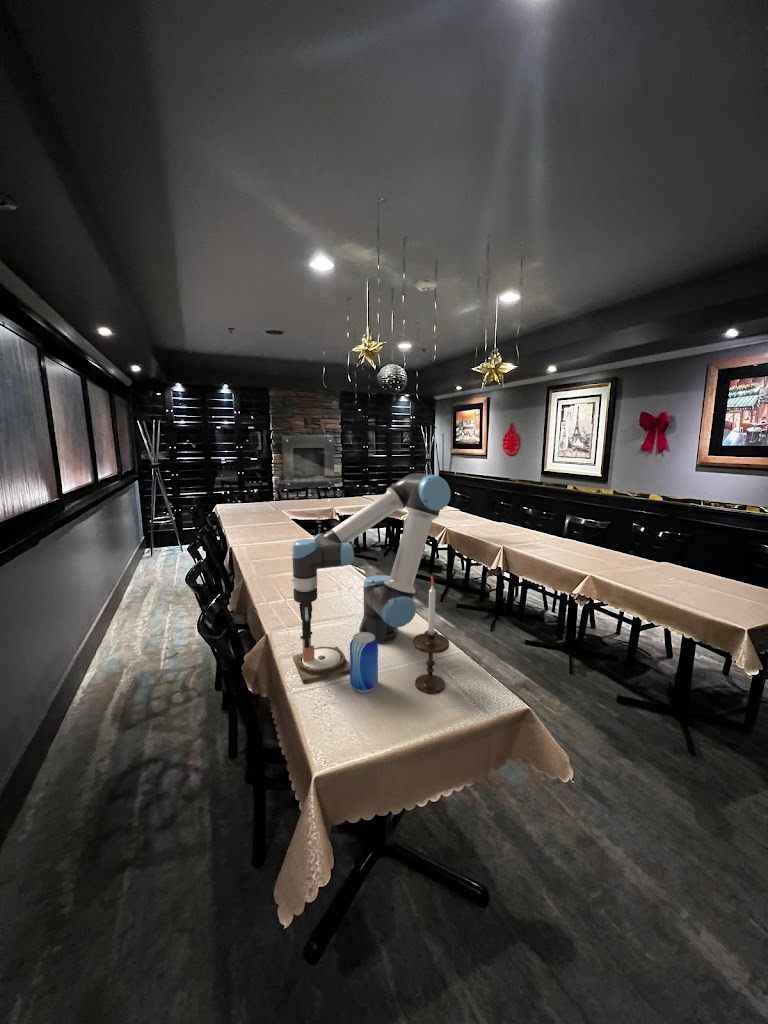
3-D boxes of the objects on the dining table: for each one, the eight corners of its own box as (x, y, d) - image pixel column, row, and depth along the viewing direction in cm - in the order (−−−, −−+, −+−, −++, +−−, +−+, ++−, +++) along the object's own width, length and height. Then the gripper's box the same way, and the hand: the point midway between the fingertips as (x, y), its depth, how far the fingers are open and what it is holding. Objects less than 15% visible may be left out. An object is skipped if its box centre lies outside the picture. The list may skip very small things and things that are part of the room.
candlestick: (411, 674, 129) (413, 569, 123) (445, 675, 129) (448, 570, 123) (413, 695, 118) (414, 581, 113) (450, 696, 118) (453, 581, 112)
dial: (336, 649, 142) (335, 634, 141) (344, 667, 130) (344, 651, 129) (300, 655, 138) (299, 639, 137) (305, 674, 126) (304, 657, 125)
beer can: (367, 697, 117) (367, 646, 114) (344, 688, 121) (344, 639, 119) (383, 683, 124) (383, 635, 122) (360, 675, 128) (360, 628, 126)
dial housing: (337, 649, 145) (337, 642, 144) (352, 672, 130) (352, 664, 130) (292, 658, 138) (292, 650, 138) (302, 683, 124) (302, 674, 123)
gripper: (293, 581, 134) (295, 645, 139) (293, 596, 122) (295, 666, 127) (315, 579, 136) (317, 643, 140) (318, 594, 124) (319, 663, 128)
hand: (306, 654), depth 133 cm, fingers closed
